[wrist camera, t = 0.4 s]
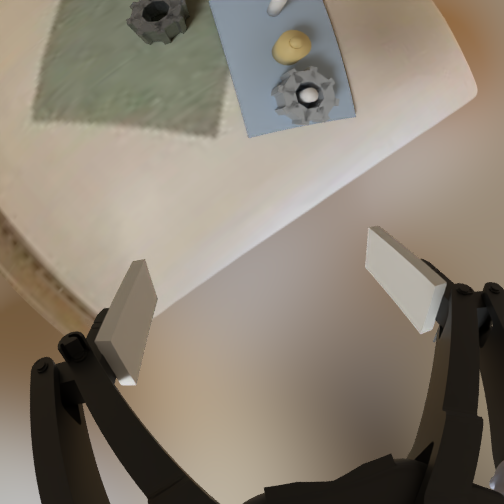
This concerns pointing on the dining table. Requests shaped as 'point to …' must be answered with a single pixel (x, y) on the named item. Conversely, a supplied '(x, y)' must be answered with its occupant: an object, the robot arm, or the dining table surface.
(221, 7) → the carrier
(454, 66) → the dining table surface
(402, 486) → the robot arm
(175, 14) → the gear
